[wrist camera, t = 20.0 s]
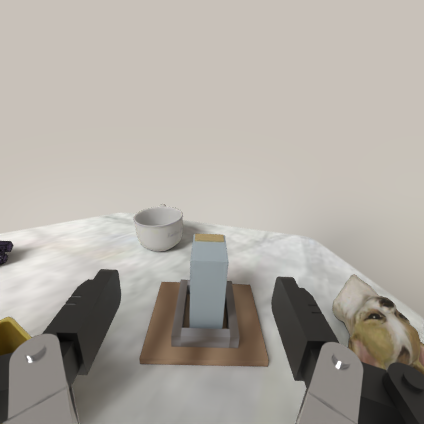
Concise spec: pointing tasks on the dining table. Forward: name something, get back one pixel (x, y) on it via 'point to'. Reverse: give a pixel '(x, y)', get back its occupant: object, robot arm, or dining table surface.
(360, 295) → the ceramic sculpture
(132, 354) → the dining table surface
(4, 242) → the crystal
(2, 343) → the flower pot
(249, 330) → the keyed seat
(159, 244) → the teacup
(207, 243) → the keyed plug
